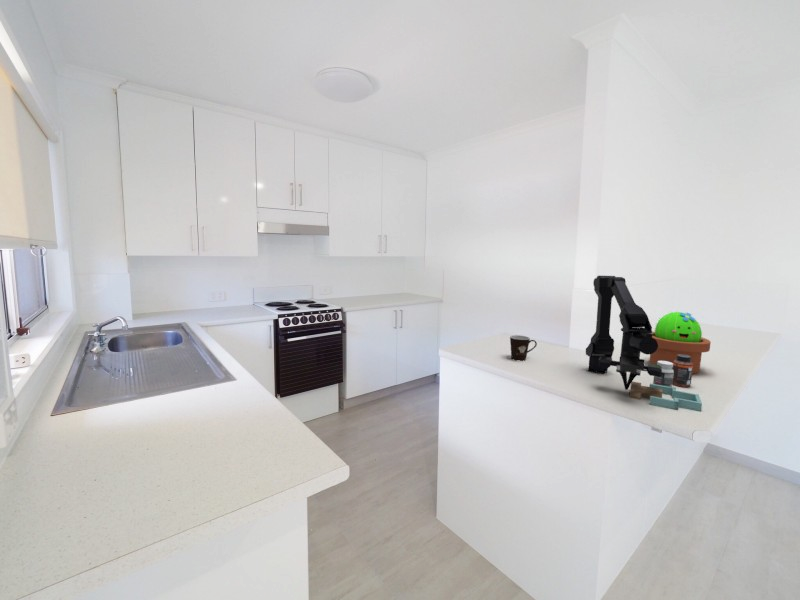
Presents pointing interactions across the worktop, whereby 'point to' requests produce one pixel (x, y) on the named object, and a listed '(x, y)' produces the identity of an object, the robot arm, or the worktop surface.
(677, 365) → the supplement bottle
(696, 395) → the teal angular frame
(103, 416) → the worktop surface
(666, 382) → the pill bottle
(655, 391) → the t block
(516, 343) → the coffee mug
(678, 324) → the potted cactus
